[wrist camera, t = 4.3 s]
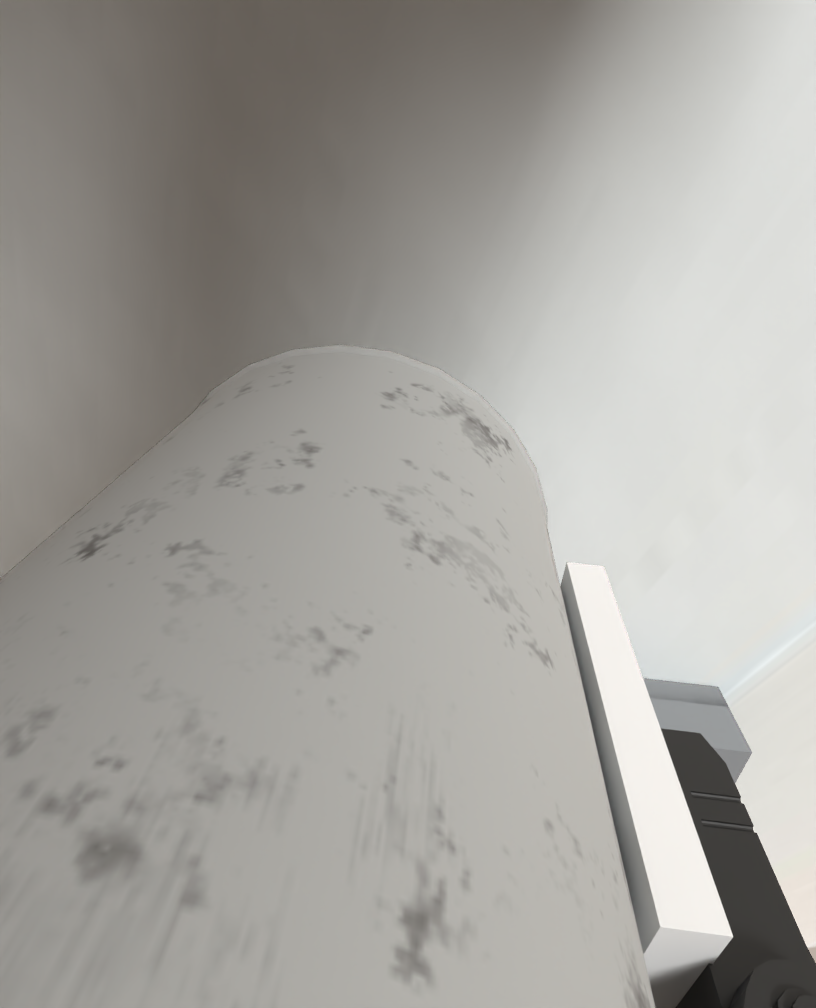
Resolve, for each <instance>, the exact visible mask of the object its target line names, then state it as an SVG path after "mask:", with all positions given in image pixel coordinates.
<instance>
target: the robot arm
mask: <svg viewBox="0 0 816 1008" xmlns="http://www.w3.org/2000/svg"><path fill="white" fill-rule="evenodd" d="M560 587H561V591H562V596H563V600H564V605H565V609H566V614H567V618H568V622H569V627H570V631H571V636H572V640H573V645H574V649H575V653H576V658H577V662H578V667H579V671H580V676H581V680H582V684H583V689H584V693H585V698H586V702H587V707H588V711H589V716H590V720H591V724H592V729H593V733H594V738H595V742H596V747H597V751H598V755H599V760H600V764H601V769H602V773H603V778H604V782H605V786H606V791H607V795H608V800H609V804H610V809H611V813H612V817H613V822H614V826H615V831H616V835H617V840H618V844H619V848H620V853H621V857H622V862H623V866H624V871H625V875H626V879H627V884H628V888H629V893H630V897H631V902H632V906H633V910H634V915H635V919H636V924H637V928H638V933H639V937H640V941H641V946H642V950H643V955H644V959H645V964H646V968H647V973H648V977H649V981H650V986H651V990H652V995H653V999H654V1004H655V1008H816V963H815V961H814V959H813V958H812V956H811V954H810V952H809V950H808V948H807V946H806V944H805V942H804V940H803V937H802V935H801V933H800V931H799V928H798V926H797V924H796V922H795V919H794V917H793V915H792V912H791V910H790V908H789V906H788V903H787V901H786V899H785V896H784V894H783V892H782V890H781V887H780V885H779V883H778V881H777V878H776V876H775V874H774V871H773V869H772V867H771V865H770V862H769V860H768V858H767V856H766V853H765V851H764V849H763V846H762V844H761V842H760V840H759V837H758V835H757V833H754V831H753V824H752V821H751V819H750V817H749V815H748V812H747V810H746V808H745V805H744V804H742V803H741V801H740V798H741V796H740V794H739V792H738V790H737V787H736V785H735V783H734V780H733V778H732V776H731V774H730V771H729V769H728V767H727V765H726V763H725V762H724V760H723V759H722V758H721V757H720V756H719V754H718V753H717V752H716V751H715V750H714V749H713V747H712V746H711V745H710V744H709V743H708V741H707V740H706V739H705V738H704V737H703V736H702V734H701V733H696V732H687V731H679V730H671V729H662V728H660V725H659V722H658V720H657V717H656V714H655V711H654V708H653V705H652V702H651V700H650V697H649V694H648V691H647V688H646V685H645V682H644V679H643V677H642V674H641V671H640V668H639V665H638V662H637V659H636V657H635V654H634V651H633V648H632V645H631V642H630V639H629V636H628V634H627V631H626V628H625V625H624V622H623V619H622V616H621V614H620V611H619V608H618V605H617V602H616V599H615V596H614V593H613V591H612V588H611V585H610V582H609V579H608V576H607V573H606V571H605V568H604V566H598V565H589V564H580V563H570V562H567V563H566V567H565V571H564V575H563V579H562V583H561V586H560Z"/></svg>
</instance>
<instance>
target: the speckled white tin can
mask: <svg viewBox="0 0 816 1008" xmlns="http://www.w3.org/2000/svg"><path fill="white" fill-rule="evenodd" d="M0 1008H655V1004H654V999H653V995H652V990H651V986H650V981H649V977H648V973H647V968H646V964H645V959H644V955H643V950H642V946H641V941H640V937H639V933H638V928H637V924H636V919H635V915H634V910H633V906H632V902H631V897H630V893H629V888H628V884H627V879H626V875H625V871H624V866H623V862H622V857H621V853H620V848H619V844H618V840H617V835H616V831H615V826H614V822H613V817H612V813H611V809H610V804H609V800H608V795H607V791H606V786H605V782H604V778H603V773H602V769H601V764H600V760H599V755H598V751H597V747H596V742H595V738H594V733H593V729H592V724H591V720H590V716H589V711H588V707H587V702H586V698H585V693H584V689H583V684H582V680H581V676H580V671H579V667H578V662H577V658H576V653H575V649H574V645H573V640H572V636H571V631H570V627H569V622H568V618H567V614H566V609H565V605H564V600H563V596H562V591H561V587H560V583H559V578H558V574H557V569H556V565H555V560H554V556H553V552H552V547H551V543H550V538H549V534H548V529H547V506H546V503H545V499H544V495H543V492H542V488H541V484H540V480H539V477H538V473H537V469H536V467H535V465H534V463H533V462H532V460H531V458H530V456H529V455H528V453H527V451H526V449H525V448H524V446H523V444H522V442H521V441H520V439H519V437H518V435H517V434H516V432H515V430H514V429H513V428H512V427H511V426H510V425H509V424H508V423H507V422H506V421H505V420H504V419H503V418H502V417H501V415H500V414H499V413H498V412H497V411H496V410H495V409H494V408H493V407H492V406H491V405H490V404H489V403H488V402H487V401H486V400H485V399H484V398H483V397H482V396H481V395H479V394H478V393H476V392H475V391H473V390H472V389H470V388H469V387H467V386H466V385H464V384H463V383H461V382H459V381H458V380H456V379H455V378H453V377H452V376H450V375H449V374H447V373H446V372H444V371H443V370H441V369H439V368H436V367H434V366H431V365H428V364H425V363H423V362H420V361H417V360H415V359H412V358H409V357H406V356H404V355H401V354H398V353H396V352H393V351H386V350H379V349H371V348H364V347H356V346H349V345H332V346H322V347H312V348H302V349H292V350H289V351H287V352H284V353H281V354H278V355H275V356H272V357H270V358H267V359H264V360H261V361H258V362H255V363H253V364H250V365H248V366H246V367H245V368H243V369H242V370H241V371H239V372H238V373H236V374H235V375H233V376H232V377H230V378H229V379H227V380H226V381H224V382H223V383H221V384H220V385H219V386H217V387H216V388H214V389H213V390H212V391H210V393H209V394H208V395H207V396H206V397H205V399H204V400H203V401H202V402H201V403H200V405H199V406H198V407H197V408H196V409H195V410H194V412H193V413H192V414H191V415H190V416H188V417H187V418H186V419H185V420H184V421H183V422H181V423H180V424H179V425H178V426H177V427H176V428H175V429H173V430H172V431H171V432H170V433H169V434H168V435H166V436H165V437H164V438H163V439H162V440H161V441H159V442H158V443H157V444H156V445H155V446H154V447H153V448H151V449H150V450H149V451H148V452H147V453H146V454H144V455H143V456H142V457H141V458H140V459H139V460H138V461H136V462H135V463H134V464H133V465H132V466H131V467H129V468H128V469H127V470H126V471H125V472H124V473H122V474H121V475H120V476H119V477H118V478H117V479H116V480H114V481H113V482H112V483H111V484H110V485H109V486H107V487H106V488H105V489H104V490H103V491H102V492H100V493H99V494H98V495H97V496H96V497H95V498H94V499H92V500H91V501H90V502H89V503H88V504H87V505H85V506H84V507H83V508H82V509H81V510H80V511H78V512H77V513H76V514H75V515H74V516H73V517H72V518H70V519H69V520H68V521H67V522H66V523H65V524H63V525H62V526H61V527H60V528H59V529H58V530H56V531H55V532H54V533H53V534H52V535H51V536H50V537H48V538H47V539H46V540H45V541H44V542H43V543H41V544H40V545H39V546H38V547H37V548H36V549H35V550H33V551H32V552H31V553H30V554H29V555H28V556H26V557H25V558H24V559H23V560H22V561H21V562H19V563H18V564H17V565H16V566H15V567H14V568H13V569H11V570H10V571H9V572H8V573H7V574H6V575H4V576H3V577H2V578H1V579H0Z"/></svg>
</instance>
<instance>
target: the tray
mask: <svg viewBox="0 0 816 1008" xmlns="http://www.w3.org/2000/svg"><path fill="white" fill-rule="evenodd" d="M644 682H645V685H646V688H647V691H648V694H649V697H650V700H651V702H652V705H653V708H654V711H655V714H656V717H657V720H658V722H659V725H660V728H662V729H671V730H679V731H687V732H696V733H701V734H702V736H703V737H704V738H705V739H706V740H707V741H708V743H709V744H710V745H711V746H712V747H713V749H714V750H715V751H716V752H717V753H718V754H719V756H720V757H721V758H722V759H723V760H724V762H725V763H726V765H727V767H728V769H729V771H730V774H731V776H732V778H733V780H734V783H735V782H736V781H737V779H738V777H739V775H740V773H741V772H742V770H743V768H744V766H745V764H746V763H747V761H748V759H749V757H750V755H751V754H752V751H751V749H750V747H749V746H748V744H747V742H746V740H745V738H744V736H743V734H742V732H741V730H740V728H739V726H738V724H737V722H736V720H735V719H734V717H733V715H732V713H731V711H730V709H729V707H728V705H727V703H726V701H725V699H724V697H723V695H722V693H721V691H720V690H719V688H718V687H712V686H703V685H695V684H686V683H677V682H668V681H660V680H651V679H644Z"/></svg>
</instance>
